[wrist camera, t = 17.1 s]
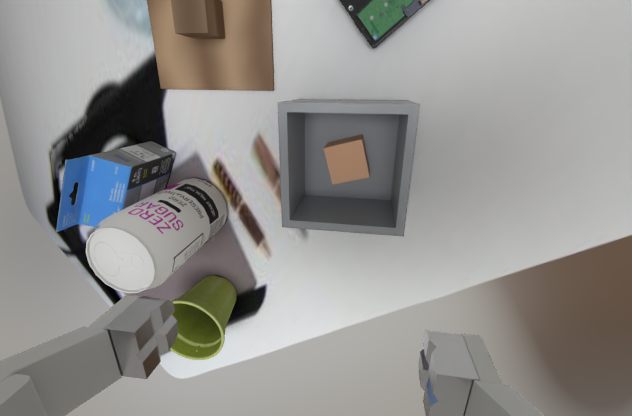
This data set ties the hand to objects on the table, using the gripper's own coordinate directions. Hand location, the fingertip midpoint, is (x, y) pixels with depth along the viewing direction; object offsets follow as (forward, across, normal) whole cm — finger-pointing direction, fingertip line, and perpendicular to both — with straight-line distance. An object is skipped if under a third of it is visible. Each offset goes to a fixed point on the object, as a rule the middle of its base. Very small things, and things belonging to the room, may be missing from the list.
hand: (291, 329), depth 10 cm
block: (+28, 0, 0) cm, 28 cm away
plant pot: (+29, +19, +22) cm, 41 cm away
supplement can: (+29, +20, +8) cm, 36 cm away
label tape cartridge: (+29, +26, +4) cm, 39 cm away
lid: (+30, +16, -14) cm, 37 cm away
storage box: (+29, 0, 0) cm, 29 cm away
